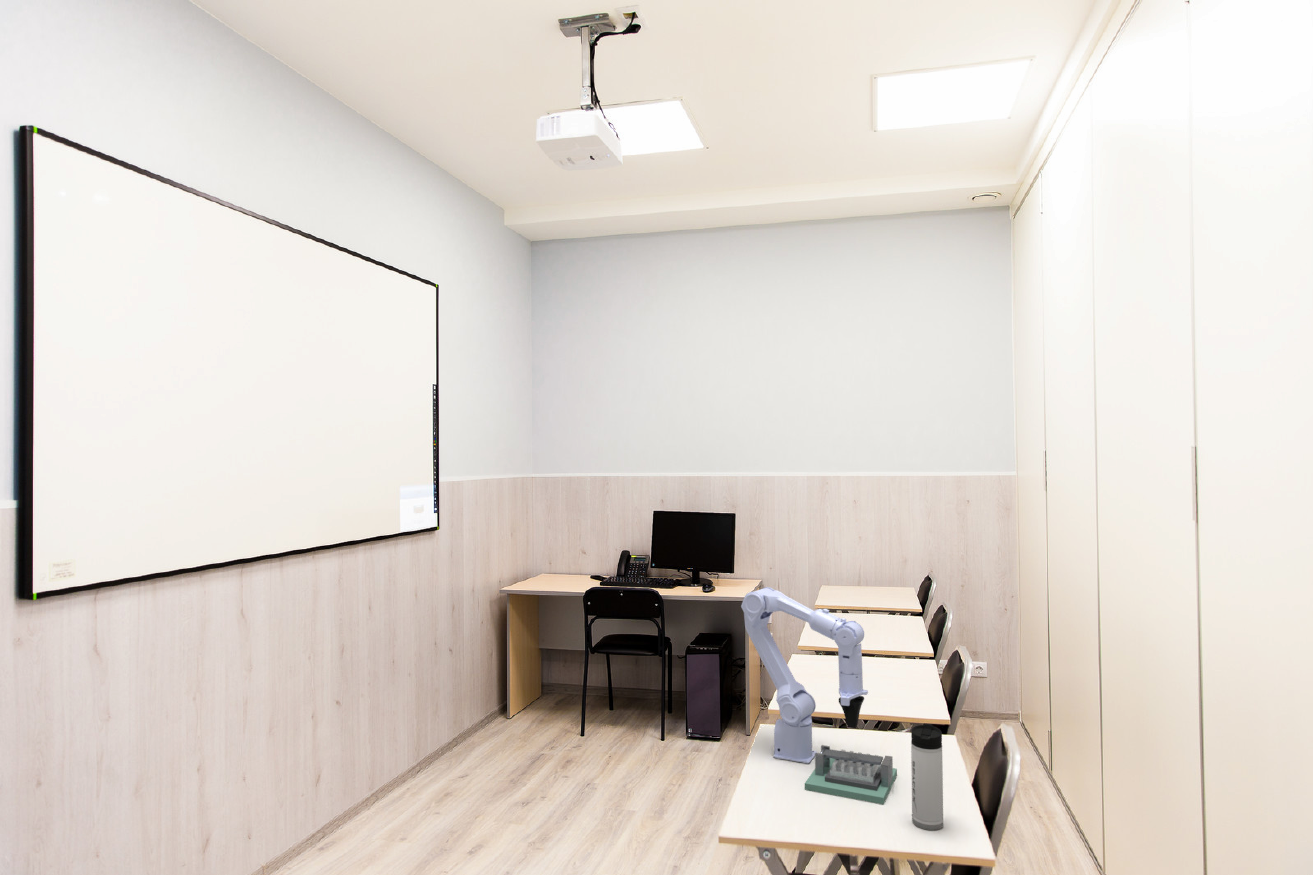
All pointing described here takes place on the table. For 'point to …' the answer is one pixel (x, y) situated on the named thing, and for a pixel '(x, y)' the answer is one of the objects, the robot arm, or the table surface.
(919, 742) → the travel mug
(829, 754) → the flat metal bar
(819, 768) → the heat sink
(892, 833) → the table surface
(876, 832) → the table surface
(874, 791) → the circuit board
